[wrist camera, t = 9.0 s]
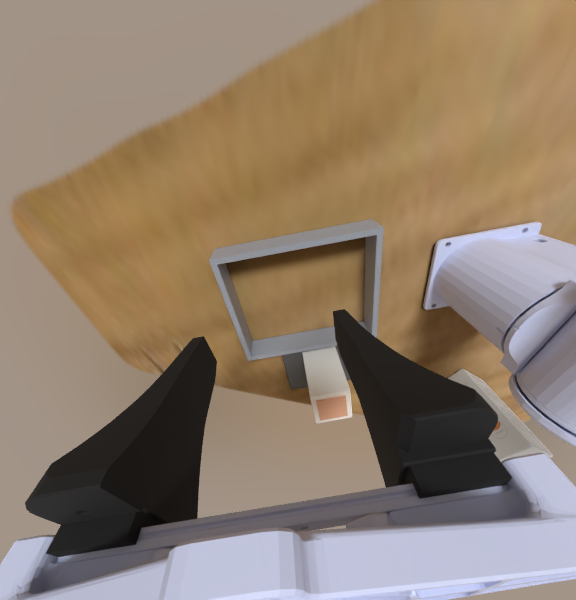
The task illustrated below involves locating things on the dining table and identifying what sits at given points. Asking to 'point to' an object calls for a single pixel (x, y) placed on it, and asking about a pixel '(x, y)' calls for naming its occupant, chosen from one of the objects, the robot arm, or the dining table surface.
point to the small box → (503, 422)
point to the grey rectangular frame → (290, 243)
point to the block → (327, 385)
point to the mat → (302, 369)
